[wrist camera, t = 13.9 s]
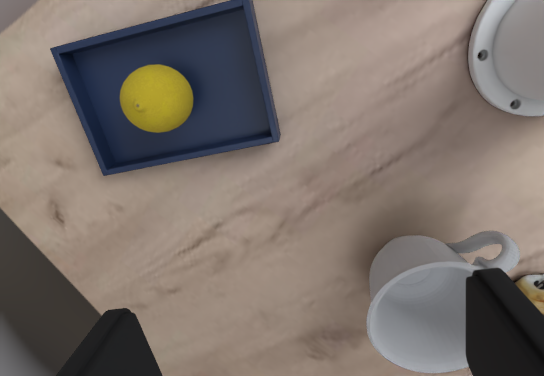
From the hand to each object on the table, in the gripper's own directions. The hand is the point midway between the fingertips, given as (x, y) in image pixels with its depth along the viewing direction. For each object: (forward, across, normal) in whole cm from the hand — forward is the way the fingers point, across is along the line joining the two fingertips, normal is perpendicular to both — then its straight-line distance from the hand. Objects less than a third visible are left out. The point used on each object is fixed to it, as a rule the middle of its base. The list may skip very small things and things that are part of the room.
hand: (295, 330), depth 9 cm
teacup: (+26, -10, +15) cm, 32 cm away
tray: (+26, +11, -6) cm, 29 cm away
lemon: (+25, +11, -6) cm, 28 cm away
